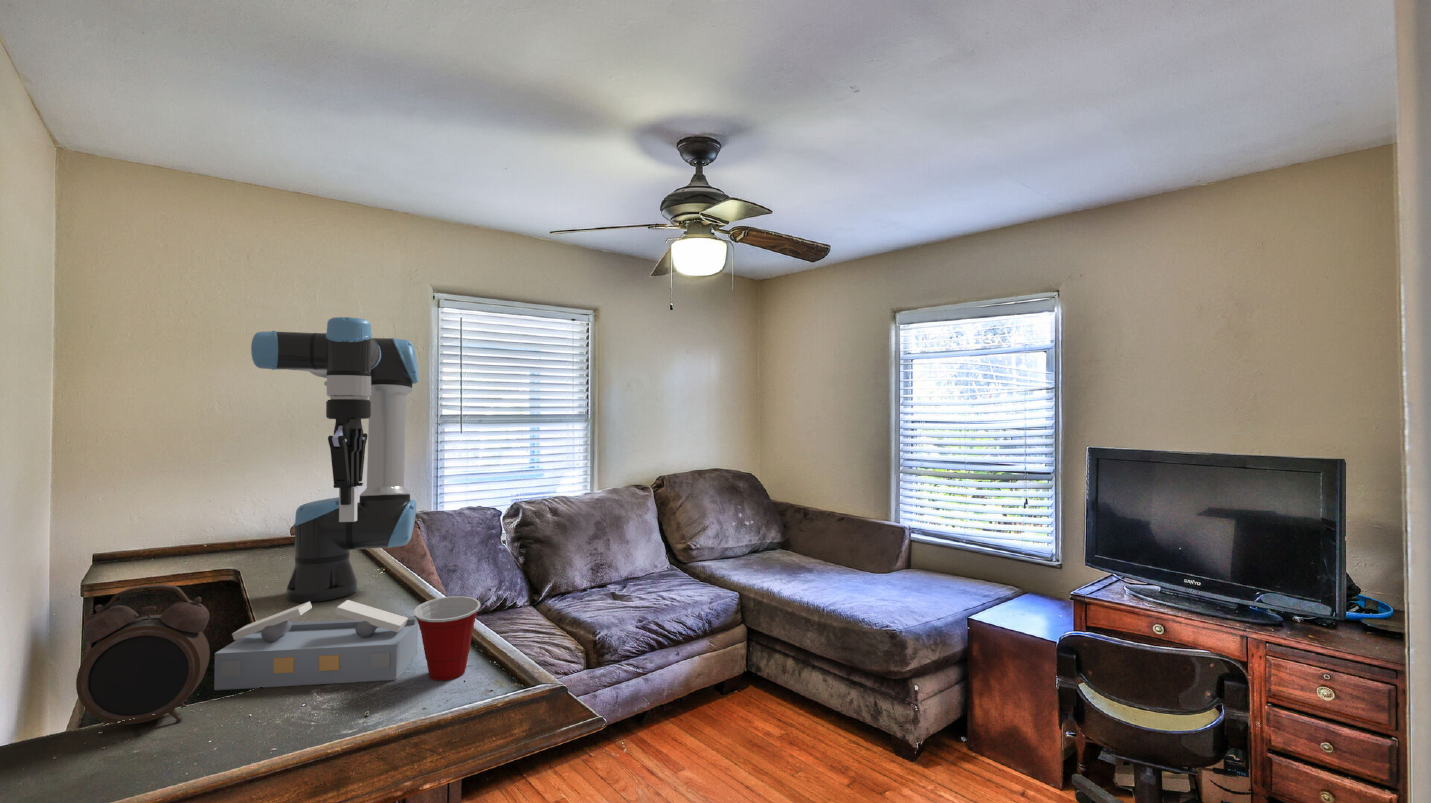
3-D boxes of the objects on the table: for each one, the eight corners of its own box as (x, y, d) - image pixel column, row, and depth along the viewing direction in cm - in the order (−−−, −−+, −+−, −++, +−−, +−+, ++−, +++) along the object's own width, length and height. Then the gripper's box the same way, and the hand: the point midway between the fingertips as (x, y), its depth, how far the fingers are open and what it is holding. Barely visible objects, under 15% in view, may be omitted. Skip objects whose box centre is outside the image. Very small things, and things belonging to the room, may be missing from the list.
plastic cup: (407, 691, 107) (407, 617, 107) (418, 665, 118) (419, 598, 118) (477, 683, 110) (477, 611, 110) (483, 659, 120) (483, 594, 120)
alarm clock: (69, 746, 89) (70, 599, 90) (90, 723, 96) (91, 586, 96) (201, 723, 96) (202, 586, 96) (213, 703, 102) (214, 575, 103)
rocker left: (254, 644, 116) (246, 625, 116) (317, 620, 117) (309, 601, 117) (239, 653, 111) (231, 633, 111) (305, 628, 113) (298, 608, 113)
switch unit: (254, 661, 119) (254, 623, 119) (417, 653, 123) (417, 616, 123) (213, 690, 107) (213, 647, 107) (395, 680, 111) (395, 638, 111)
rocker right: (339, 619, 118) (347, 599, 118) (400, 637, 119) (408, 617, 120) (329, 627, 114) (337, 607, 114) (392, 646, 115) (400, 625, 115)
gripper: (341, 398, 132) (341, 516, 132) (312, 397, 119) (311, 527, 119) (381, 398, 133) (380, 515, 133) (356, 397, 121) (355, 526, 120)
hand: (348, 521), depth 126 cm, fingers closed
